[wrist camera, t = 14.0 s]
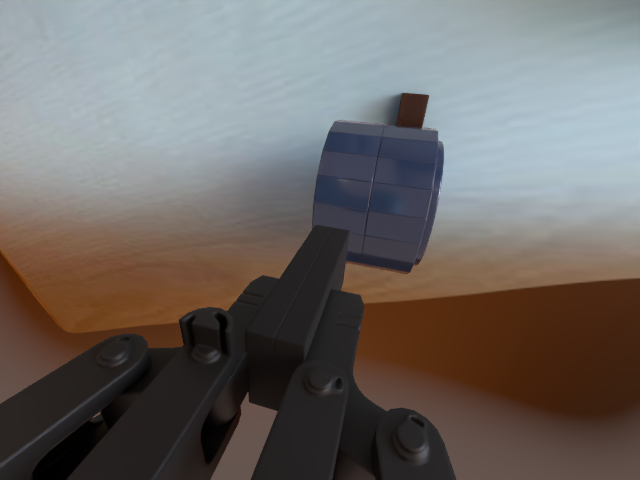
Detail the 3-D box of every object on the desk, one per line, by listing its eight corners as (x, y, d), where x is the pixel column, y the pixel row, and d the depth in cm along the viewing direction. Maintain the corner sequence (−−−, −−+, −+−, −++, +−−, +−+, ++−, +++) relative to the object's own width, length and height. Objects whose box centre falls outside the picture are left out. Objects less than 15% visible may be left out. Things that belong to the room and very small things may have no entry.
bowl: (410, 239, 27) (337, 226, 29) (437, 124, 23) (348, 116, 24) (414, 304, 19) (308, 282, 20) (458, 140, 14) (317, 126, 15)
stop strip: (374, 247, 29) (373, 251, 29) (402, 93, 23) (402, 92, 22) (394, 251, 29) (394, 255, 28) (428, 95, 23) (429, 95, 22)
